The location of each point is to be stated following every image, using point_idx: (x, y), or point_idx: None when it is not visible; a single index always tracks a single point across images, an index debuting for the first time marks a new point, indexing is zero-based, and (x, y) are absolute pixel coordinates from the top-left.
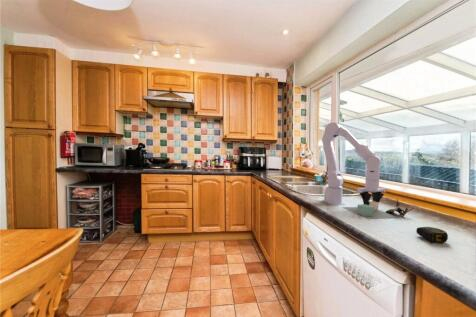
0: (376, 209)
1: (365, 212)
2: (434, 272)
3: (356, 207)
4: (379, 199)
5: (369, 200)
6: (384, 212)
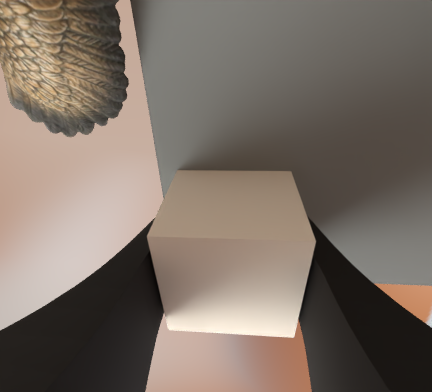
0: (198, 175)
1: None
2: None
3: None
4: (101, 283)
5: (217, 319)
6: (160, 74)
